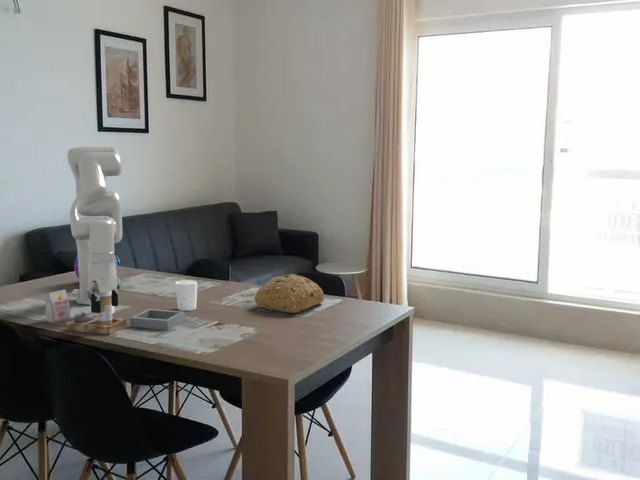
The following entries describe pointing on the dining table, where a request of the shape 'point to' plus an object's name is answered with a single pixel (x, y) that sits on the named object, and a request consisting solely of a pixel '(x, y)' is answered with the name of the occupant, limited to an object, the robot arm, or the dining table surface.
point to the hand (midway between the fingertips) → (105, 309)
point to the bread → (289, 294)
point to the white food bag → (57, 306)
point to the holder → (94, 324)
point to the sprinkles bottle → (105, 309)
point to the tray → (157, 319)
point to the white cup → (186, 294)
